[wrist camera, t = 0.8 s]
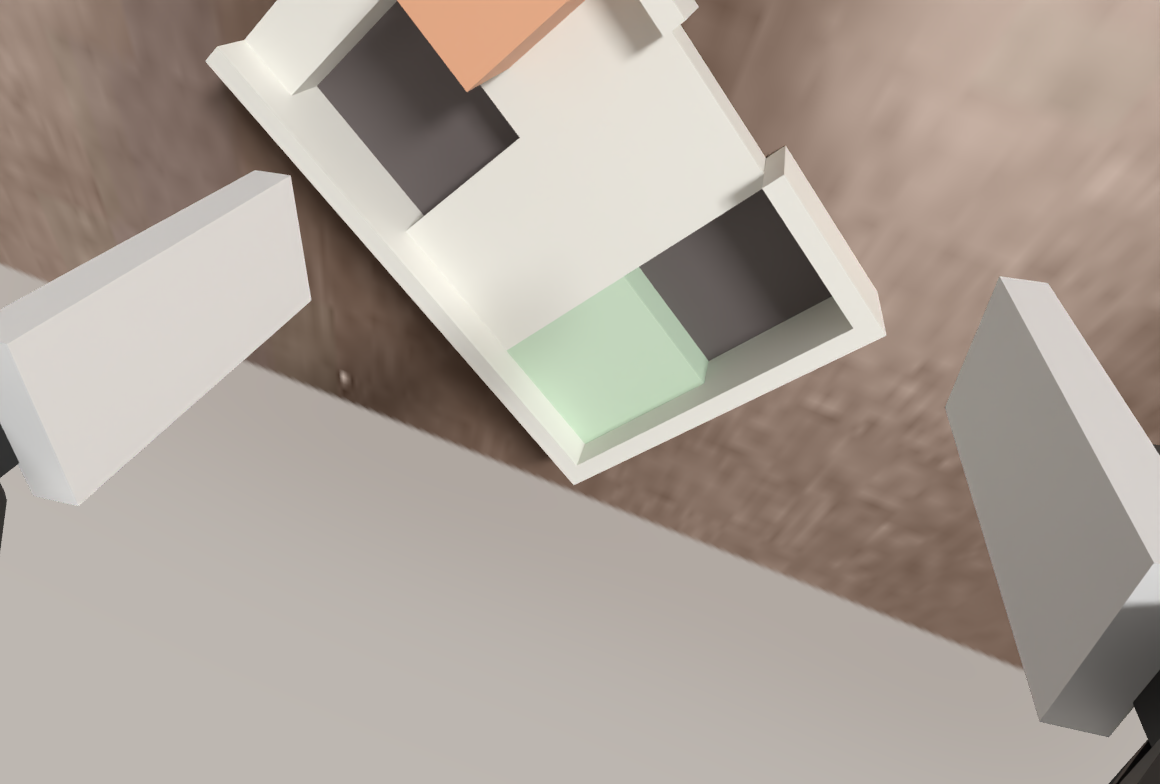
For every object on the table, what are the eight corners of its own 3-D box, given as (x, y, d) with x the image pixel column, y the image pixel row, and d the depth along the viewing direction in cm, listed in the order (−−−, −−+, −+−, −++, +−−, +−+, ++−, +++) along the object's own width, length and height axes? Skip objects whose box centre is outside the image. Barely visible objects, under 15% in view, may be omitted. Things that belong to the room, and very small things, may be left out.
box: (263, 45, 37) (205, 61, 33) (528, -266, 28) (488, -292, 25) (592, 438, 45) (574, 485, 42) (877, 292, 36) (886, 335, 33)
